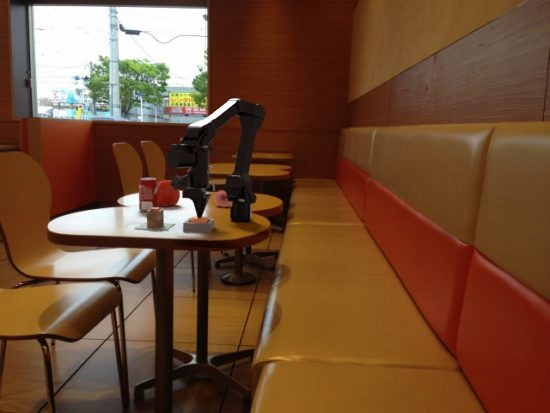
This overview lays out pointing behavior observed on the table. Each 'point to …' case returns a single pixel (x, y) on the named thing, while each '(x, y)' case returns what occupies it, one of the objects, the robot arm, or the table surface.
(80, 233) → the table surface
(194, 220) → the button
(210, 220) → the button box
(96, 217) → the table surface
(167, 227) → the board
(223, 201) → the flower
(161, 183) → the apple
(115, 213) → the table surface
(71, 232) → the table surface
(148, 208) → the soda can
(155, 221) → the block
